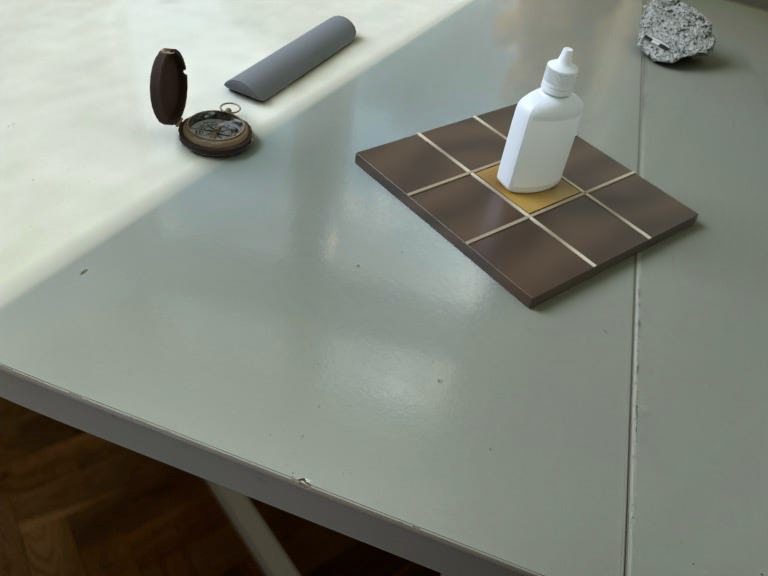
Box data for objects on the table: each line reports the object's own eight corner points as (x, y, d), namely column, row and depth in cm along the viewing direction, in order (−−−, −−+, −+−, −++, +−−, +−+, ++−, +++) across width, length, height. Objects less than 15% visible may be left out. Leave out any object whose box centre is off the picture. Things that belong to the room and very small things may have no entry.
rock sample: (621, 21, 89) (679, -34, 89) (606, 41, 97) (659, -10, 96) (685, 86, 89) (743, 32, 88) (665, 101, 97) (718, 51, 96)
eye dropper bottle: (563, 201, 65) (609, 67, 57) (496, 191, 65) (534, 56, 57) (557, 172, 68) (600, 42, 60) (493, 163, 68) (529, 31, 60)
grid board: (694, 223, 67) (699, 213, 67) (529, 308, 56) (533, 297, 55) (521, 110, 78) (524, 100, 78) (354, 162, 67) (355, 151, 67)
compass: (242, 165, 65) (243, 84, 60) (148, 146, 65) (142, 65, 60) (267, 118, 71) (270, 42, 66) (182, 101, 71) (179, 24, 66)
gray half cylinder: (358, 37, 86) (360, 22, 85) (258, 106, 72) (258, 88, 71) (325, 26, 87) (326, 10, 86) (220, 91, 73) (220, 73, 72)
